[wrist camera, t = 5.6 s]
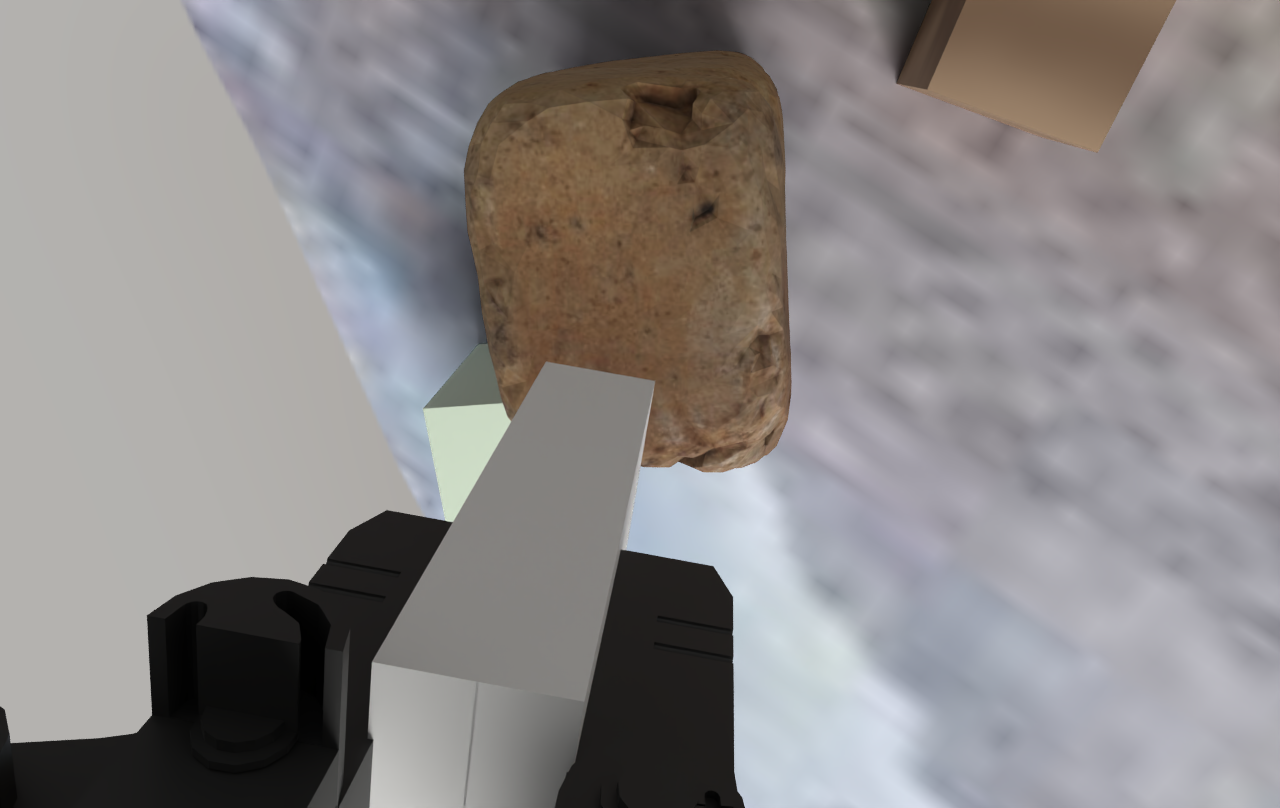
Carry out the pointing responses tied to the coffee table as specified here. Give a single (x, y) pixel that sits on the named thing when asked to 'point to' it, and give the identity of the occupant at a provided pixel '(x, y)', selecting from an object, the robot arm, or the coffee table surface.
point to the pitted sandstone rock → (642, 244)
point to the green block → (465, 427)
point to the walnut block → (1036, 61)
